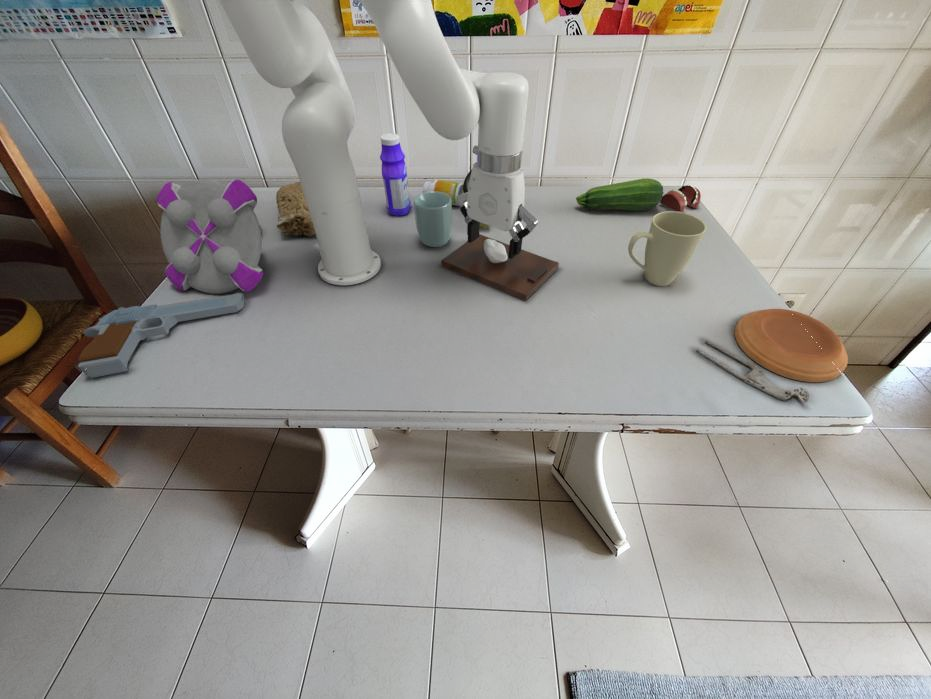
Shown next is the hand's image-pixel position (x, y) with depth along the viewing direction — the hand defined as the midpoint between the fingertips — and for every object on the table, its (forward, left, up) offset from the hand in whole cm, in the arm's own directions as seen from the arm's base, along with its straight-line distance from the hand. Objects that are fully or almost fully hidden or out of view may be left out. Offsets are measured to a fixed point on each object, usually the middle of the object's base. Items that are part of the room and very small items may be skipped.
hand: (493, 247), depth 84 cm
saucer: (+53, +9, -1) cm, 53 cm away
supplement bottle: (-21, +18, -2) cm, 28 cm away
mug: (+29, +14, -5) cm, 32 cm away
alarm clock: (-13, +18, -4) cm, 23 cm away
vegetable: (+11, +38, -4) cm, 40 cm away
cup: (-15, 0, -5) cm, 16 cm away
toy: (-40, -37, +7) cm, 55 cm away
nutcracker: (+48, -4, -4) cm, 48 cm away
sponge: (-49, -10, -5) cm, 50 cm away
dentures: (+21, +44, -2) cm, 49 cm away
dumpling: (+1, 0, -3) cm, 3 cm away
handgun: (-28, -55, -3) cm, 61 cm away
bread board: (+2, 0, -4) cm, 5 cm away
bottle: (-32, +7, -5) cm, 33 cm away
